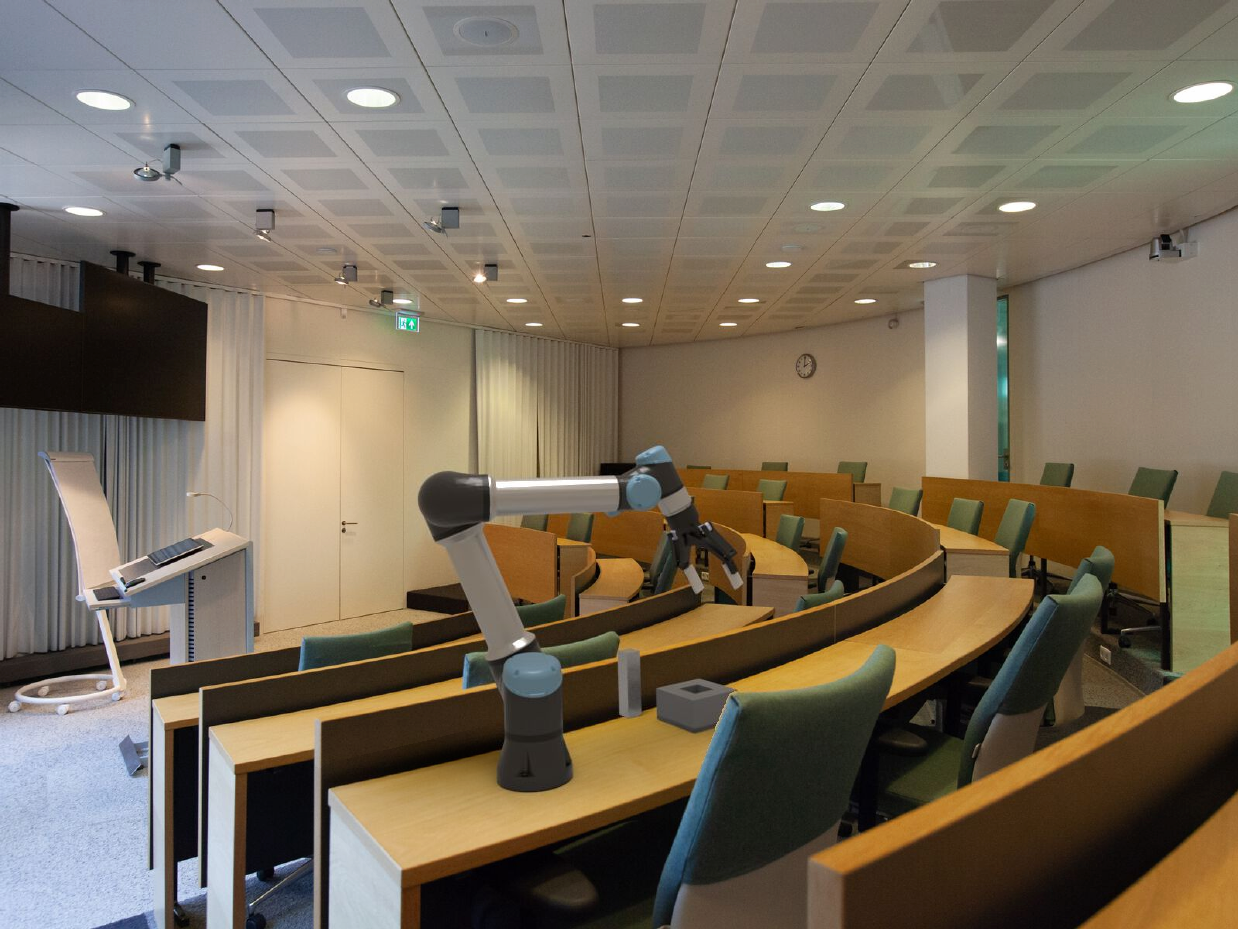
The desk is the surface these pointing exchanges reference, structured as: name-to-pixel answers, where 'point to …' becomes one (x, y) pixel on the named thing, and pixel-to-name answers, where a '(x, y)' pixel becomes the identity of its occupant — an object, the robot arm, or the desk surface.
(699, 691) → the slate well
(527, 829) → the desk surface
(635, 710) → the grey metal bar
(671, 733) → the desk surface
